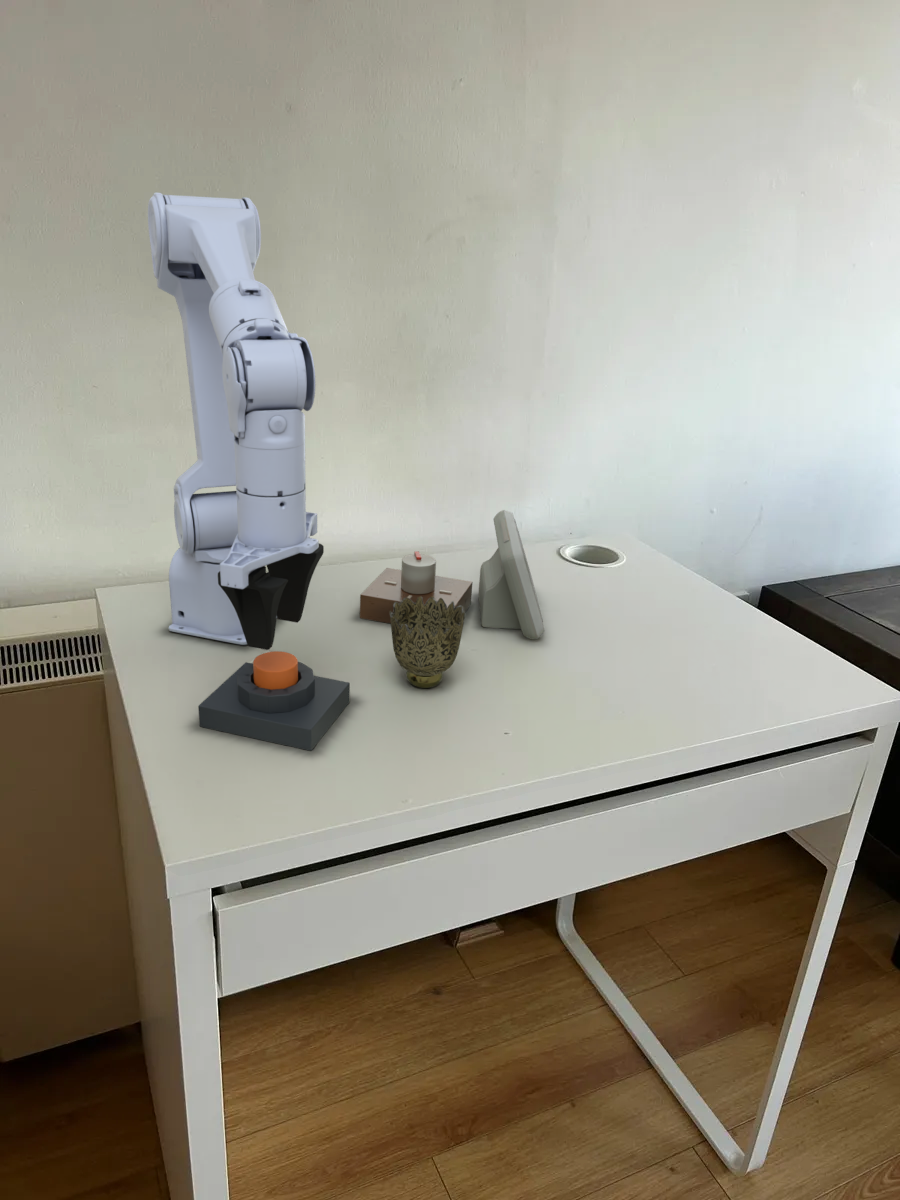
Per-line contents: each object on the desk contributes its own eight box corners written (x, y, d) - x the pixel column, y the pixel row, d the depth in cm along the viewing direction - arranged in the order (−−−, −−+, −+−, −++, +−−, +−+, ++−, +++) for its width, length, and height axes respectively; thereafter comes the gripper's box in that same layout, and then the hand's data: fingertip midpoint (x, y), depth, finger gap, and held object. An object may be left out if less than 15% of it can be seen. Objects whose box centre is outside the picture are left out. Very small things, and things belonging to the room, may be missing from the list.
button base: (199, 726, 82) (196, 688, 80) (246, 681, 90) (245, 645, 88) (311, 751, 79) (310, 711, 77) (349, 702, 87) (350, 665, 85)
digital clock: (541, 647, 100) (551, 558, 96) (462, 636, 101) (468, 548, 97) (553, 591, 115) (562, 512, 110) (484, 582, 116) (490, 503, 112)
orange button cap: (246, 686, 82) (245, 666, 81) (266, 667, 85) (265, 647, 84) (286, 695, 81) (286, 674, 80) (305, 674, 84) (305, 655, 83)
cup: (452, 705, 88) (457, 631, 84) (379, 694, 89) (381, 620, 85) (466, 670, 94) (471, 600, 91) (398, 660, 95) (400, 591, 92)
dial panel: (359, 618, 104) (360, 593, 103) (386, 589, 112) (386, 566, 111) (450, 634, 102) (452, 609, 100) (471, 604, 110) (472, 580, 108)
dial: (437, 594, 104) (439, 563, 103) (403, 594, 104) (404, 564, 102) (431, 580, 108) (433, 550, 106) (398, 581, 107) (399, 551, 106)
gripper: (276, 519, 68) (279, 677, 74) (348, 471, 81) (346, 608, 86) (192, 506, 70) (202, 661, 75) (276, 461, 82) (279, 596, 88)
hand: (274, 632), depth 81 cm, fingers open, 5 cm apart
